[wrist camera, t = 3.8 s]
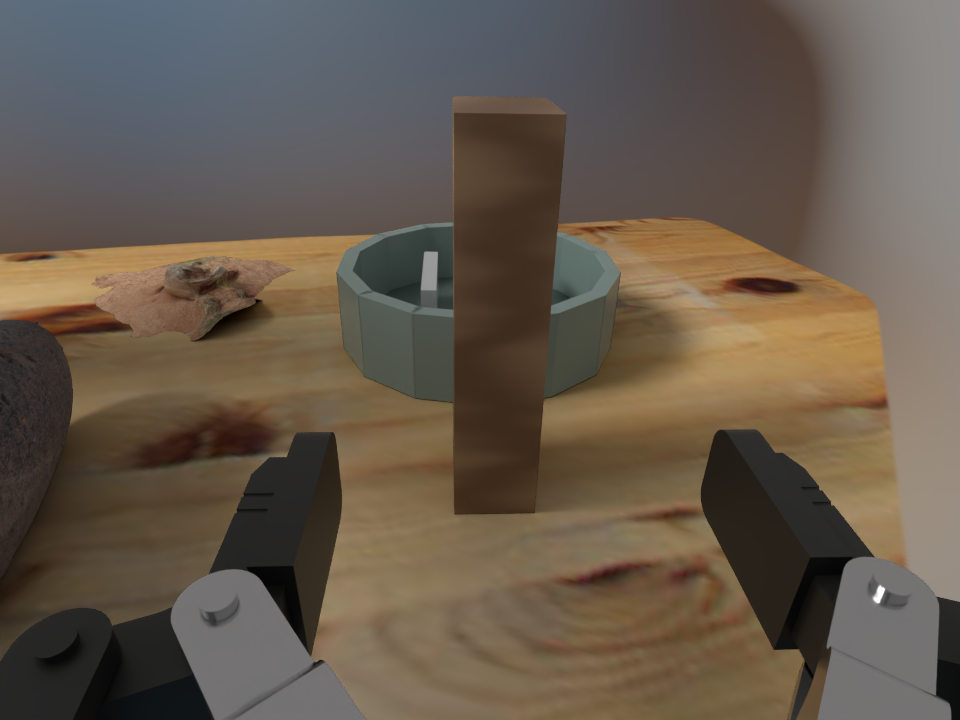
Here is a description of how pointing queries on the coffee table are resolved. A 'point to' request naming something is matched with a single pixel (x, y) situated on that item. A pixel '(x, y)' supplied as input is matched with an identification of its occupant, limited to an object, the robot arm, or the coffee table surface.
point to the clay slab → (185, 293)
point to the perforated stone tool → (29, 425)
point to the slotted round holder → (429, 310)
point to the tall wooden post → (502, 293)
